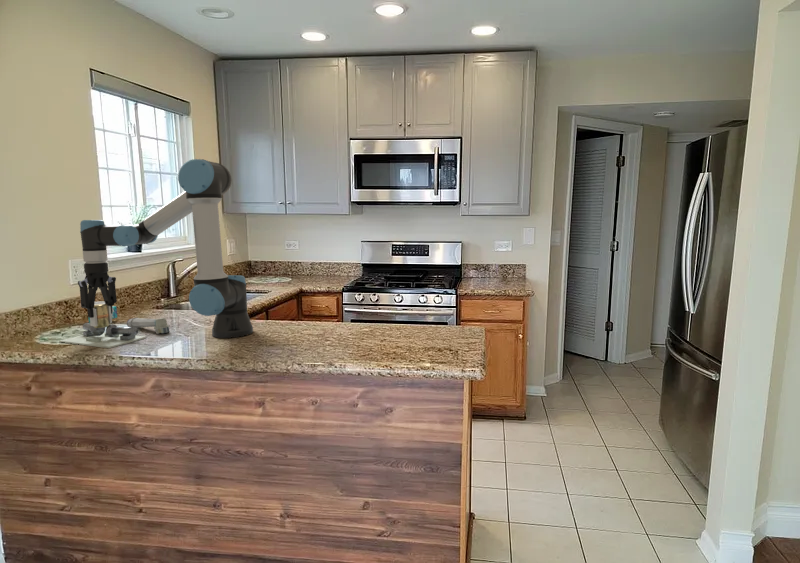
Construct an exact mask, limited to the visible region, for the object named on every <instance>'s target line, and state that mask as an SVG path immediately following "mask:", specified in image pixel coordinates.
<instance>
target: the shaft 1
mask: <svg viewBox="0 0 800 563" xmlns="http://www.w3.org/2000/svg"><path fill="white" fill-rule="evenodd" d="M82 329H83V330H84V331H82V335H83V336H86V337H88V336H94V335H95V336H100V335H102V334H103V333H104V332H105V333H106V327H102V328H94V326H91V325H90V323H89V322H85V323H84V324H82Z"/></svg>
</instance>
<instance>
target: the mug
mask: <svg viewBox="0 0 800 563" xmlns="http://www.w3.org/2000/svg"><path fill="white" fill-rule="evenodd" d="M97 304H105V301H103V300H102V301H95V303H94V305H97ZM112 311H113V312H112V314H111V317H112V320H113V319H116V318H118V308H117V306H115V305H113V306H112ZM87 318H88V320H87V321H88V323H90V318H89V317H88V316H87Z"/></svg>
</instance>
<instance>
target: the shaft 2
mask: <svg viewBox="0 0 800 563" xmlns="http://www.w3.org/2000/svg"><path fill="white" fill-rule="evenodd" d="M105 333H106V335H107V336H108V337H115V336H116V335H122V336H120V340H123V341H128V340H131V339H133V338H135V336H138V334H139V328H137V327H128V326H126V327H125V326H124V327H123V326H122V327H121V326H120V327H119V326H117V325H116V324H115V323H114V324H112V323H109V325H108V326H107V327H105Z"/></svg>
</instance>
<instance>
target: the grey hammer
mask: <svg viewBox="0 0 800 563" xmlns="http://www.w3.org/2000/svg"><path fill="white" fill-rule="evenodd" d="M126 327H137V328H138V329H139V328H153V329H154V330H155V334H156V335H159V334H166V333H169V332H170V327H171V326H170V324H168V322H167V319H166V317H161V318H139V317H133V318H129V319H128V320H127V321H126Z"/></svg>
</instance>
